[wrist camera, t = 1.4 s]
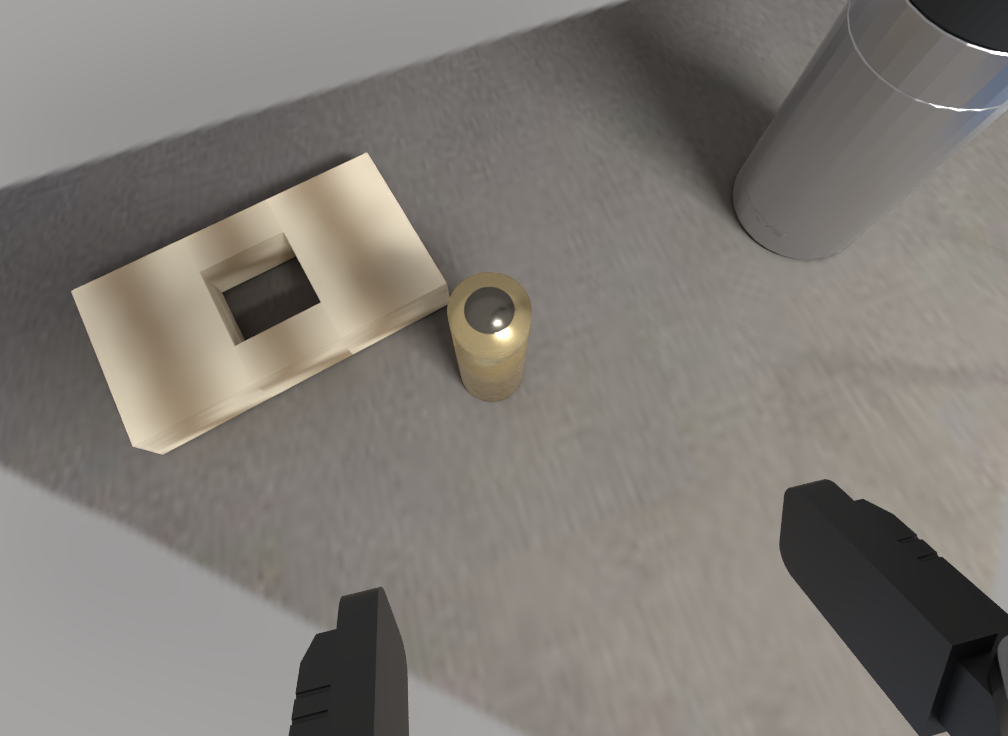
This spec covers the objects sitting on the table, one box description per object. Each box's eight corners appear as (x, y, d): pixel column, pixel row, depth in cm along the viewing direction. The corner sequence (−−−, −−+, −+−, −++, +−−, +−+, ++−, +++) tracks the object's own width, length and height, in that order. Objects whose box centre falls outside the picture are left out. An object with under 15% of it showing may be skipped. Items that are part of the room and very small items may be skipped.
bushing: (503, 331, 37) (504, 258, 28) (534, 382, 36) (547, 324, 27) (449, 360, 37) (432, 295, 27) (480, 413, 36) (473, 365, 26)
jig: (376, 179, 41) (367, 152, 38) (450, 302, 38) (446, 283, 35) (103, 310, 38) (71, 290, 35) (162, 454, 35) (132, 446, 32)
